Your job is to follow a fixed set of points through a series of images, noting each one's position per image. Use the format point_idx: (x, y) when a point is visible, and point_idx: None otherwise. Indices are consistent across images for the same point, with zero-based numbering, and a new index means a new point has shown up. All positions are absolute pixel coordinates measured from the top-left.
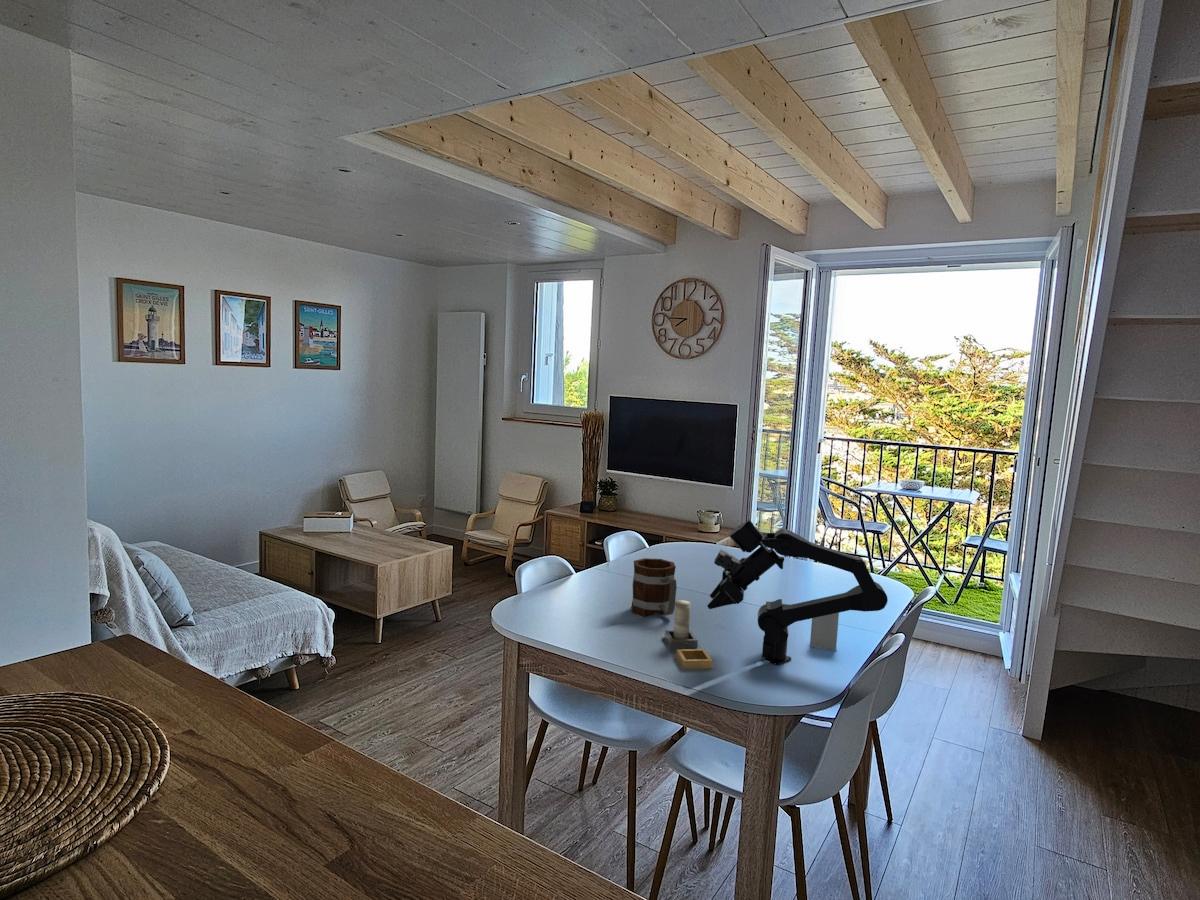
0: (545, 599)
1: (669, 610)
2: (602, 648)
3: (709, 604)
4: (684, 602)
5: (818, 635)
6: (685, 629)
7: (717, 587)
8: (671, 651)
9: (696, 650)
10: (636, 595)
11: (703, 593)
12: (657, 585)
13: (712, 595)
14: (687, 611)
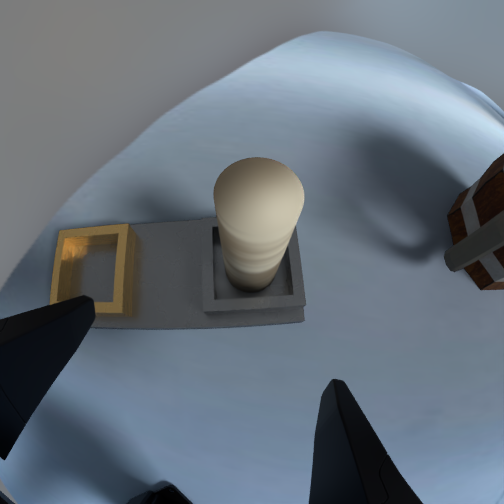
0: (446, 87)
1: (447, 253)
2: (235, 103)
3: (67, 302)
4: (263, 201)
5: None
6: (223, 257)
7: (347, 452)
8: (176, 226)
9: (114, 283)
10: (484, 175)
11: None
12: None
13: (328, 398)
14: (220, 229)
